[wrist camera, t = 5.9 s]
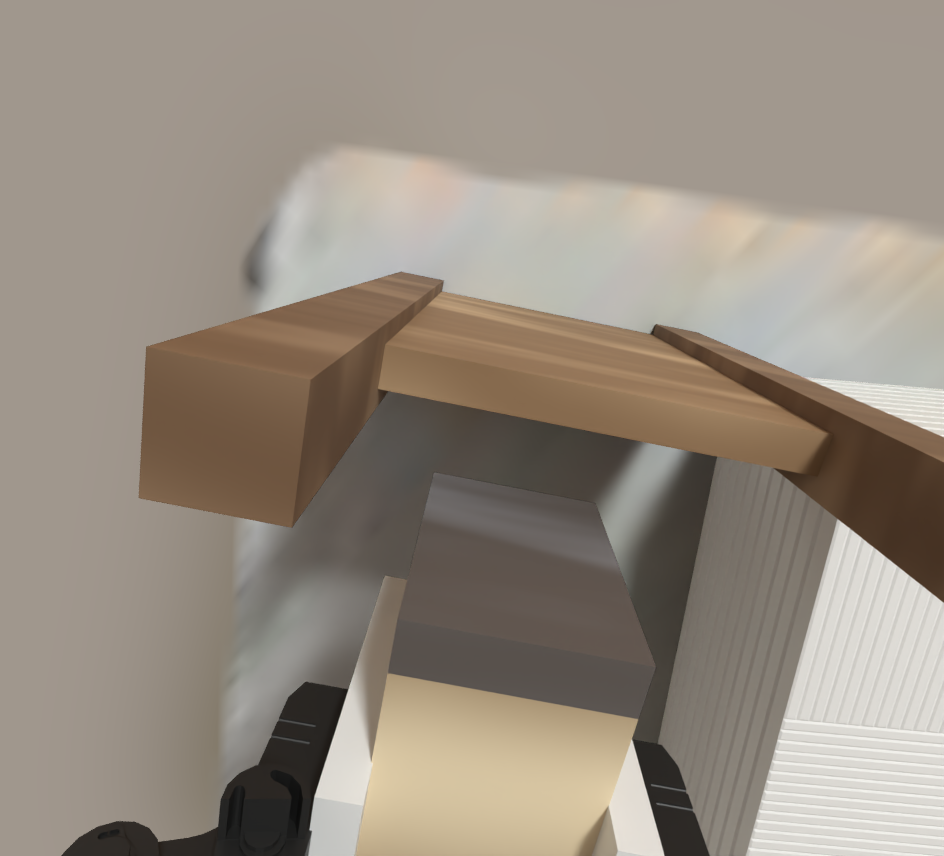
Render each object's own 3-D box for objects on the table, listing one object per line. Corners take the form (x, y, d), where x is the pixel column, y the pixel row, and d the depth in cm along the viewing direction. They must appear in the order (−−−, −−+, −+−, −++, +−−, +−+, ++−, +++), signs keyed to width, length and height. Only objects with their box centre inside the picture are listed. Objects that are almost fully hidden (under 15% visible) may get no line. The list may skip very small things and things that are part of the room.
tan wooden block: (496, 860, 19) (496, 1134, 13) (365, 837, 19) (308, 1103, 13) (595, 503, 15) (656, 667, 10) (434, 472, 15) (397, 619, 9)
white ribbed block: (732, 369, 30) (861, 436, 19) (957, 390, 30) (1205, 467, 19) (628, 876, 39) (678, 1106, 28) (800, 893, 39) (913, 1129, 28)
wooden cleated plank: (674, 410, 30) (1106, 800, 9) (387, 352, 30) (132, 616, 9) (697, 332, 29) (1250, 567, 8) (401, 271, 29) (146, 346, 8)
